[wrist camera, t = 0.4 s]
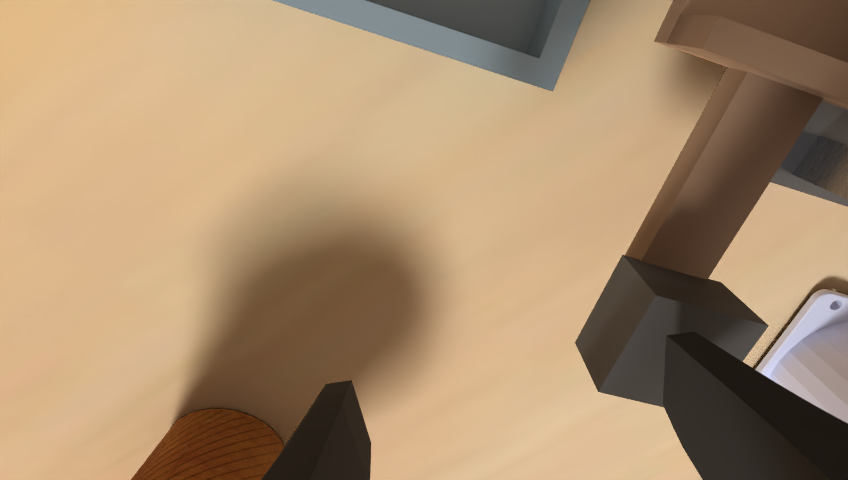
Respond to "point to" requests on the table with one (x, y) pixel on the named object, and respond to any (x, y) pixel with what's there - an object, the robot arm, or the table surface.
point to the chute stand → (819, 156)
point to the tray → (471, 30)
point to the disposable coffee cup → (213, 448)
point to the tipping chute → (715, 183)
